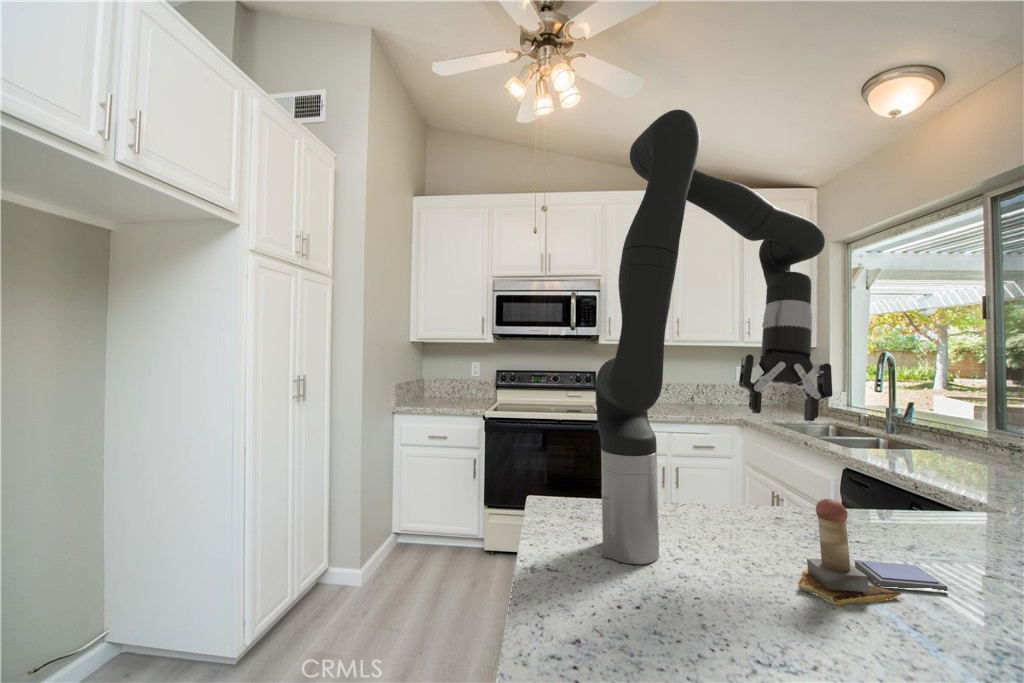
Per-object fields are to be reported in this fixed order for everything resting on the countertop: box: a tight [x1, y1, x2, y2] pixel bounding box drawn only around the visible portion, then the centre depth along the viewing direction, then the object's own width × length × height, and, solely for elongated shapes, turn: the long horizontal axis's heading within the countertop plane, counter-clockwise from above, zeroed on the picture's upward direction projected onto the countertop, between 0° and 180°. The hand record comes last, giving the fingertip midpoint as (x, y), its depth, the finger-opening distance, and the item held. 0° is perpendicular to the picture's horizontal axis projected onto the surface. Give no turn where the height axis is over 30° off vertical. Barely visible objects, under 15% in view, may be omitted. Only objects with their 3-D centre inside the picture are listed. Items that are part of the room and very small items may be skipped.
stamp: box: [806, 498, 870, 592], centre depth 59 cm, size 5×5×11 cm
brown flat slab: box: [798, 569, 902, 607], centre depth 57 cm, size 11×8×2 cm
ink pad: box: [854, 560, 949, 591], centre depth 61 cm, size 8×6×1 cm
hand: (782, 417), depth 74 cm, fingers open, 8 cm apart
